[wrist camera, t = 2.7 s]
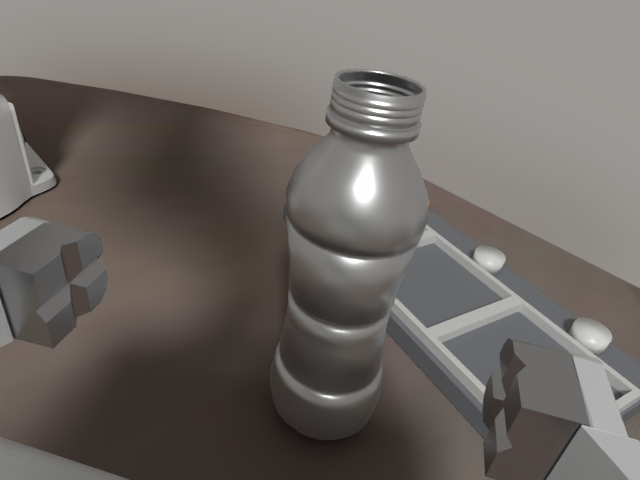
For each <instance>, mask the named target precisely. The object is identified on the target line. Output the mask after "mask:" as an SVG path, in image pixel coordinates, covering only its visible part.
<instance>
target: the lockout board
mask: <svg viewBox="0 0 640 480" xmlns="http://www.w3.org/2000/svg"><path fill="white" fill-rule="evenodd" d="M428 205H429V200H428ZM428 209H429V208H428ZM286 216H287V213H286V205H285V206H284V216H283V218H284V219H285V220H286V221H287V218H286ZM505 259H506V258H505V255H504V254H503V253H502V252H501V251H499V250H498V249H496V248H493V247H490V246H479V245H478V244H476V243H475V242H473V241H472V240H471V239H469V238H468V237H467V236H465V235H464V234H463V233H461V232H460V231H459V230H457V229H456V228H454V227H453V226H452V225H450V224H449V223H448V222H446V221H445V220H444V219H442V218H441V217H440V216H438V215H437V214H435V213H434V212H433V211H431V210H430V209H429V216H428V221H427V224H426V227H425V230H424V232H423V235H422V237H421V239H420V241H419V244H418V246H417V248H416V250H415V252H414V254H413V257H412V259H411V261H410V263H409V265H408V267H407V270H406V272H405V274H404V276H403V278H402V281H401V283H400V286H399V289H398V292H397V295H396V298H395V301H394V304H393V306H392V309H391V314H390V317H389V320H388V323H387V326H386V331H387V332H388V334H389V335H390V336H391V337H392V338H393V339H394V340H395V341H396V342H397V343H398V345H399V346H400V347H401V348H402V349H403V350H404V351H405V352H406V353H407V354H408V356H409V357H410V358H411V359H412V360H413V361H414V362H415V363H416V364H417V365H418V367H419V368H420V369H421V370H422V371H423V372H424V373H425V374H426V375H427V376H428V378H429V379H430V380H431V381H432V382H433V383H434V384H435V385H436V386H437V387H438V389H439V390H440V391H441V392H442V393H443V394H444V395H445V396H446V397H447V398H448V400H449V401H450V402H451V403H452V404H453V405H454V406H455V407H456V408H457V409H458V411H459V412H460V413H461V414H462V415H463V416H464V417H465V418H466V419H467V420H468V422H469V423H470V424H471V425H472V426H473V427H474V428H475V429H476V430H477V431H478V433H479V434H480V435H481V436H482V437H483V438H484V439H485V438H486V436H487V434H488V432H489V429H488V428H487V427H486V425H485V424H484V422H483V413H482V408H483V397H484V393H485V389H486V384H487V382H488V379H489V377H490V374H491V372H492V370H494V369H496V368H498V367H500V351H501V349H502V347H503V345H504V343H505V342H506V341H507V339H508V338H511V339H515V340H519V341H523V342H527V343H531V344H535V345H539V346H543V347H547V348H551V349H556V350H560V351H564V352H571V353H576V354H580V355H584V356H589V357H593V358H597V359H599V360H600V361H601V362H602V363H603V366H604V368H605V371H606V374H607V377H608V380H609V383H610V386H611V389H612V392H613V394H614V397H615V400H616V403H617V406H618V409H619V412H620V415H621V418H622V420H623V422H625V421H626V420H627V419H629V418H630V417H632V416H633V415H635V414H636V413H638V412H639V411H640V364H639V363H638V362H636V361H635V360H634V359H632V358H631V357H630V356H628V355H627V354H626V353H624V352H623V351H622V350H620V349H619V348H617V347H616V346H615V345H613V344H612V343H611V340H612V334H611V332H610V331H609V330H608V329H607V328H606V327H605V326H604V325H603V324H601V323H599V322H597V321H595V320H593V319H590V318H577V317H575V316H574V315H573V314H571V313H570V312H569V311H567V310H566V309H564V308H563V307H562V306H560V305H559V304H558V303H556V302H555V301H554V300H552V299H551V298H550V297H548V296H547V295H545V294H544V293H543V292H541V291H540V290H539V289H537V288H536V287H535V286H533V285H532V284H531V283H529V282H528V281H526V280H525V279H524V278H522V277H521V276H520V275H518V274H517V273H516V272H514V271H513V270H512V269H510V268H509V267H507V266H506V265H505V264H504V262H505Z"/></svg>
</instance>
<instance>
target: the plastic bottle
mask: <svg viewBox="0 0 640 480" xmlns="http://www.w3.org/2000/svg"><path fill="white" fill-rule="evenodd" d="M425 99H426V88H425V87H424V86H423V85H421V84H420V83H418V82H417V81H414V80H412V79H410V78H406V77H404V76H400V75H397V74H393V73H389V72H384V71H377V70H368V69H347V70H342V71H339V72H338V73H336V74H335V79H334V81H333V87H332V94H331V101H330V105H328V107H327V111H326V122H327V124H328V125H329V126H330V127H331V129H330V132H329V133H328V134H327V135H326V136H325V137H324V138H323V139H322V140H320V141H319V142H318V143H317V144H316V145H315V146H314V147H313V148H312V149H311V150H310V151H309V152H308V153H307V154H306V155H305V157H304V158H303V159H302V160H301V161H300V162H299V164H298V165H297V166H296V168H295V169H294V171H293V174H292V176H291V178H290V181H289V183H288V186H287V190H286V213H287V216H286V218H287V232H288V246H289V260H290V264H289V291H288V305H287V310H286V315H285V319H284V324H283V329H282V334H281V338H280V341H279V343H278V346H277V348H276V351H275V353H274V357H273V360H272V364H271V368H270V375H269V378H270V386H271V393H272V399H273V402H274V405H275V408H276V410H277V411H278V413H279V415H280V416H281V417H282V419H283V420H284V421H285V422H286V423H287V424H288V425H290V426H291V427H292V428H294V429H295V430H296V431H298V432H299V433H301V434H303V435H305V436H307V437H310V438H313V439H317V440H337V439H342V438H346V437H349V436H351V435H353V434H355V433H357V432H358V431H359V430H361V429H362V428H363V427H364V426H365V425H366V423H367V422H368V421H369V419H370V418H371V416H372V414H373V412H374V411H375V409H376V407H377V405H378V402H379V400H380V394H381V385H382V362H381V360H382V353H383V346H384V339H385V333H386V326H387V323H388V320H389V317H390V314H391V309H392V306H393V304H394V301H395V298H396V295H397V292H398V289H399V286H400V283H401V281H402V278H403V276H404V274H405V272H406V270H407V267H408V265H409V263H410V261H411V259H412V257H413V254H414V252H415V250H416V248H417V246H418V244H419V241H420V239H421V237H422V235H423V232H424V230H425V227H426V224H427V221H428V216H429V209H428V193H427V190H426V187H425V184H424V181H423V178H422V175H421V173H420V170H419V167H418V165H417V163H416V161H415V159H414V157H413V155H412V153H411V151H410V148H409V142H412V141H414V140H415V139H417V137H418V136H419V131H420V128H421V122H420V117H421V114H422V110H423V106H424V102H425Z"/></svg>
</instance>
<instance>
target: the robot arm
mask: <svg viewBox="0 0 640 480" xmlns="http://www.w3.org/2000/svg"><path fill="white" fill-rule="evenodd" d="M56 183H57V182H56V179H55V176H54V174H53V172H52V171H51V170H50V169H49V168H48V166H47V165H46V164H45V163H44V162H43V161H42V159H41V158H40V157H39V156H38V155H37V154H36V152H35V151H34V150H33V149H32V148H31V147H30V145H29V144H28V143H27V142H26V140H25V137H24V135H23V134H22V133H21V131H20V127H19V123H18V120H17V116H16V112H15V109H14V106H13V104H12V103H10V102H7V100H6V99H5V97H4V96H3V95H1V94H0V218H1V217H3V216H5V215H7V214H9V213H10V212H12V211H13V210H15V209H16V208H18V207H19V206H20V205H21V204H22V203H24V202H25V201H26V200H27V199H29V198H30V197H32V196H34V195H36V194H39V193H41V192H44V191H46V190H48V189H50V188H52V187H54V186H55V185H56ZM102 253H103V249H102V244H101V239H100V238H99V237H98V236H97V235H95V234H94V233H90V232H87V231H83V230H79V229H76V228H72V227H69V226H65V225H61V224H58V223H54V222H49V221H46V220H42V219H38V218H35V217H22V218H20V219H18V220H17V221H15V222H13V223H12V224H10V225H8V226H7V227H5V228H3V229H2V230H0V347H2V346H4V345H6V344H8V343H10V342H12V341H14V339H18V340H22V341H25V342H29V343H33V344H37V345H41V346H44V347H48V348H52V349H53V348H54V347H55V346H56V345H57V344H58V343H59V342H60V341H61V340H63V339H64V338H65V337H66V336H67V335H68V334H69V333H70V332H71V331H72V330H73V329H74V328H75V327H76V319H77V317H79V316H81V315H84V314H87V313H89V312H91V311H92V310H93V309H94V308H95V307H96V306H97V305H98V304H99V303H100V301H101V299H102V297H103V295H104V293H105V291H106V286H107V273H106V269H105V267H104V266H103V265H102V264H101V262H100V261H99V260H98V258H99V257H100V255H101V254H102ZM482 413H483V422H484V424H485V425H486V427H487V428H488V429H489V432H488V434H487V436H486V438H485V441H484V462H485V477H488V478H491V479H494V480H640V442H639V441H638V440H635V439H632V438H628V435H627V432H626V429H625V426H624V423H623V420H622V418H621V415H620V412H619V409H618V406H617V403H616V400H615V397H614V394H613V392H612V389H611V386H610V383H609V380H608V377H607V374H606V371H605V368H604V366H603V363H602V362H601V361H600V360H599V359H597V358H593V357H589V356H584V355H580V354H576V353H571V352H564V351H560V350H556V349H551V348H547V347H543V346H539V345H535V344H531V343H527V342H523V341H519V340H515V339H511V338H508V339H507V341H506V342H505V343H504V345H503V347H502V349H501V351H500V367H498V368H496V369H494V370H492V372H491V374H490V377H489V379H488V382H487V384H486V389H485V393H484V397H483V408H482ZM0 480H130V479H127V478H124V477H121V476H118V475H115V474H112V473H109V472H106V471H103V470H100V469H97V468H94V467H91V466H88V465H84V464H81V463H78V462H75V461H72V460H69V459H66V458H63V457H60V456H57V455H54V454H51V453H48V452H45V451H42V450H39V449H36V448H33V447H30V446H27V445H24V444H21V443H18V442H15V441H12V440H9V439H6V438H3V437H0Z"/></svg>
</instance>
